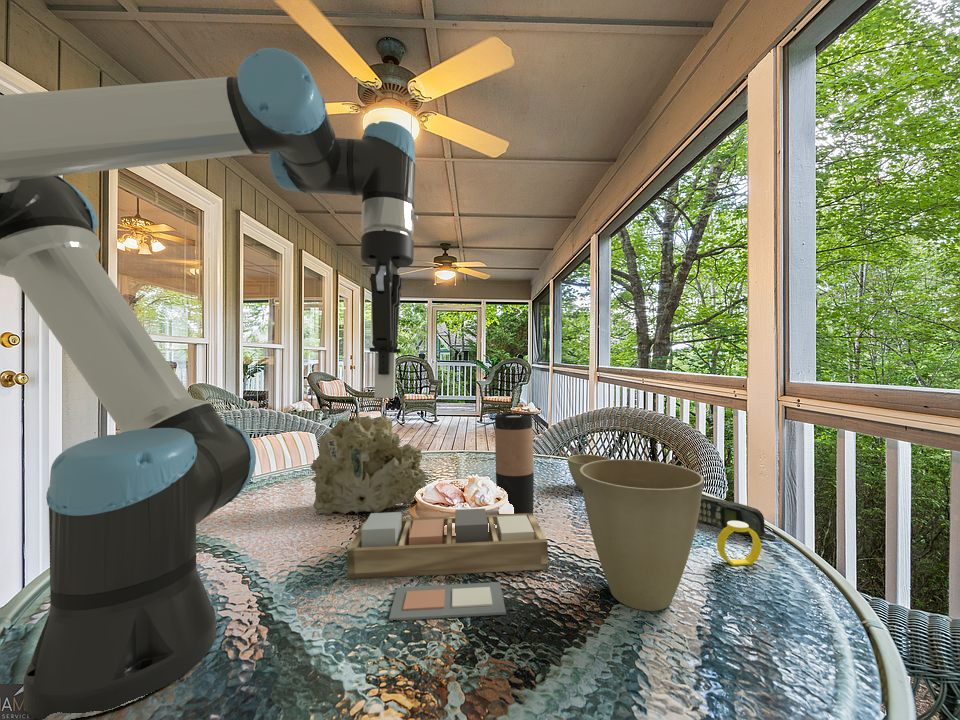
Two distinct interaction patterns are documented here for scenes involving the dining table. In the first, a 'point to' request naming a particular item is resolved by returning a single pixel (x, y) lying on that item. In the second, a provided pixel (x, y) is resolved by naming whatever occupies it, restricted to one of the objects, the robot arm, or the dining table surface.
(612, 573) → the plant pot
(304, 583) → the dining table surface
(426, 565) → the wooden compartment tray
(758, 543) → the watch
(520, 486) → the travel mug
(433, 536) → the key terracotta
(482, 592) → the card
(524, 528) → the cream rectangular block
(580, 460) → the flower pot
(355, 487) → the coral
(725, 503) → the mobile phone
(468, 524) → the grey rectangular block
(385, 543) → the key bluegrey
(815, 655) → the dining table surface
